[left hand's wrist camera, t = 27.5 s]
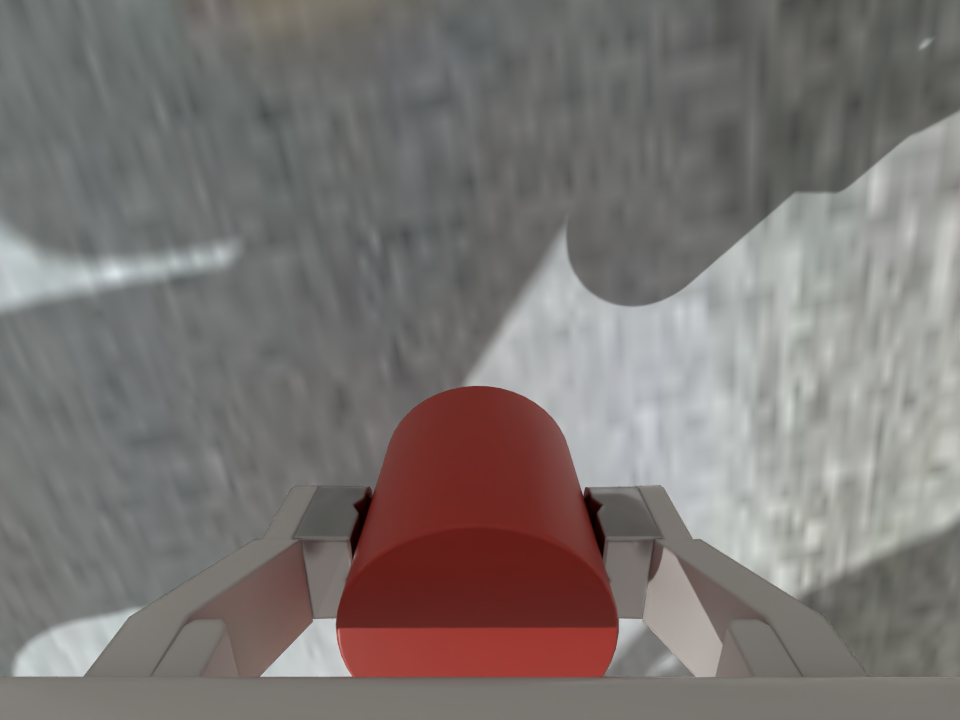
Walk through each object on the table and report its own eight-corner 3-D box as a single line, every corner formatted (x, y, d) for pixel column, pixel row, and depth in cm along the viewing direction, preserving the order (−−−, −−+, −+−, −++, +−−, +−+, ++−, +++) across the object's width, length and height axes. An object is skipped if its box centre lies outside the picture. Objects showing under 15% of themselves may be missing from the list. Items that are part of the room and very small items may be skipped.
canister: (482, 569, 13) (483, 768, 9) (348, 471, 12) (277, 645, 8) (608, 464, 12) (679, 635, 8) (473, 346, 11) (469, 469, 7)
